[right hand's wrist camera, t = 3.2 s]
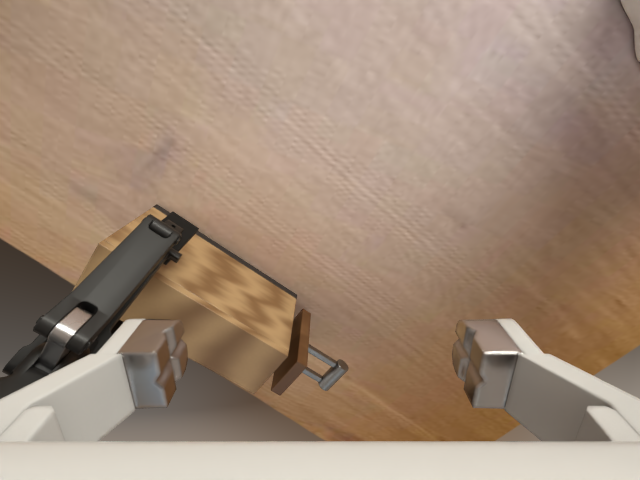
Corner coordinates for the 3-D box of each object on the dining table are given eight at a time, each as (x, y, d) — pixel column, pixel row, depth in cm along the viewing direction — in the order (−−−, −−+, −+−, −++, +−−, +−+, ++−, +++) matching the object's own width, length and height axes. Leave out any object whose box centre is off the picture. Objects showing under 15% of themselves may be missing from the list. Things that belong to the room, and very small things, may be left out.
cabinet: (297, 295, 44) (288, 356, 34) (270, 327, 46) (253, 394, 36) (156, 204, 40) (98, 243, 30) (133, 243, 42) (70, 293, 31)
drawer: (348, 337, 45) (354, 395, 36) (326, 361, 47) (326, 422, 38) (180, 230, 40) (140, 267, 31) (161, 260, 41) (117, 304, 33)
